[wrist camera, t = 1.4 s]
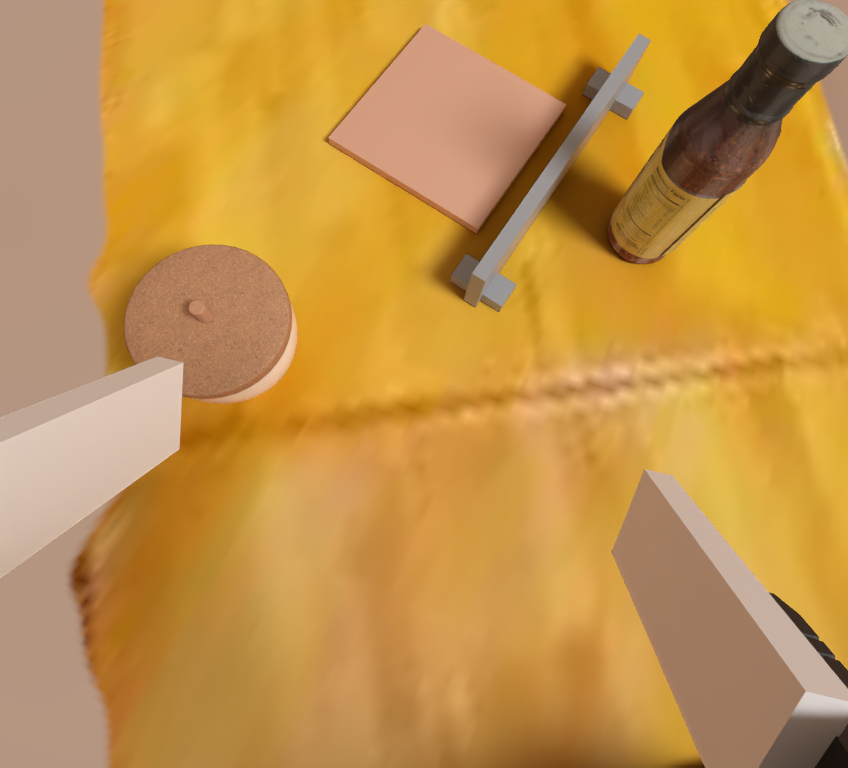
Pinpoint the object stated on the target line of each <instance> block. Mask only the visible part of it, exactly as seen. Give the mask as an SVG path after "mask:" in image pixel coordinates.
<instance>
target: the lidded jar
mask: <svg viewBox="0 0 848 768" xmlns="http://www.w3.org/2000/svg"><path fill="white" fill-rule="evenodd" d="M297 333H298V332H297V322H296V318H295V314H294V310H293V307H292V305H291V303H290V300H289V297H288V294H287V292H286V289H285V287H284V285H283V283H282V281H281V280H280V278H279V277H278V276H277V274H276V273H275V271H274V270H273V269H272V268H271V267H270V266H269V265H268V264H267V263H266V262H264V261H263V260H261V259H260V258H259V257H257V256H256V255H254V254H252V253H250V252H248V251H245V250H242V249H239V248H236V247H232V246H226V245H203V246H196V247H192V248H188V249H184V250H182V251H179V252H177V253H174V254H172V255H170V256H169V257H167V258H165V259H164V260H162V261H161V262H159V263H158V264H157V265H155V266H154V267H152V268H151V269H150V270H149V271H148V273H147V274H146V275H145V276H144V277H143V278H142V279H141V281H140V282H139V283H138V285H137V286H136V287H135V289H134V291H133V293H132V295H131V297H130V300H129V303H128V306H127V309H126V314H125V320H124V335H125V340H126V345H127V348H128V351H129V353H130V356H131V358H132V360H133V361H134V363H135V365H137V364H139V363H142V362H144V361H147V360H150V359H152V358H155V357H157V356H158V357H162V358H166V359H171V360H175V361H179V362H184V363H183V384H182V396H184V397H188V398H191V399H194V400H197V401H203V402H209V403H215V404H228V403H236V402H243V401H246V400H249V399H252V398H255V397H257V396H259V395H261V394H263V393H264V392H266V391H267V390H269V389H271V388H272V387H273V386H274V385H275V384H276V383H277V382H278V381H279V380H280V379H281V378H282V377H283V376H284V374H285V373H286V371H287V370H288V368H289V367H290V365H291V363H292V360H293V358H294V355H295V351H296V347H297Z"/></svg>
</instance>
